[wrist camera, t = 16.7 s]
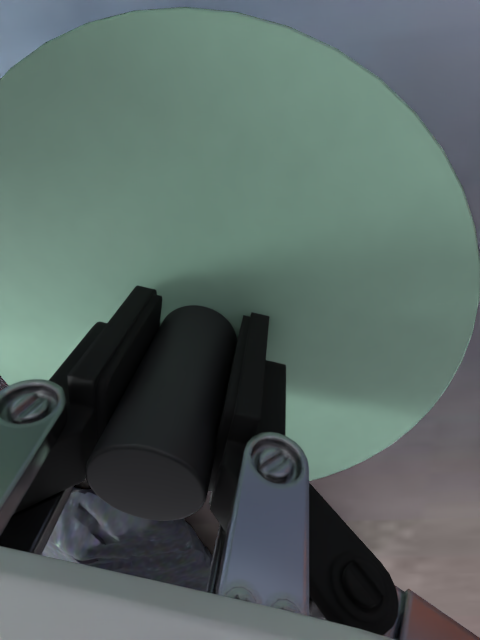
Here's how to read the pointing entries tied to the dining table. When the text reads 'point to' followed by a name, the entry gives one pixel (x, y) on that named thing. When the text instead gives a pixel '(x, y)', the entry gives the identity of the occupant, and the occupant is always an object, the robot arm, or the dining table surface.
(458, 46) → the dining table surface
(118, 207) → the lid
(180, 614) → the robot arm
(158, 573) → the dark slate chunk
